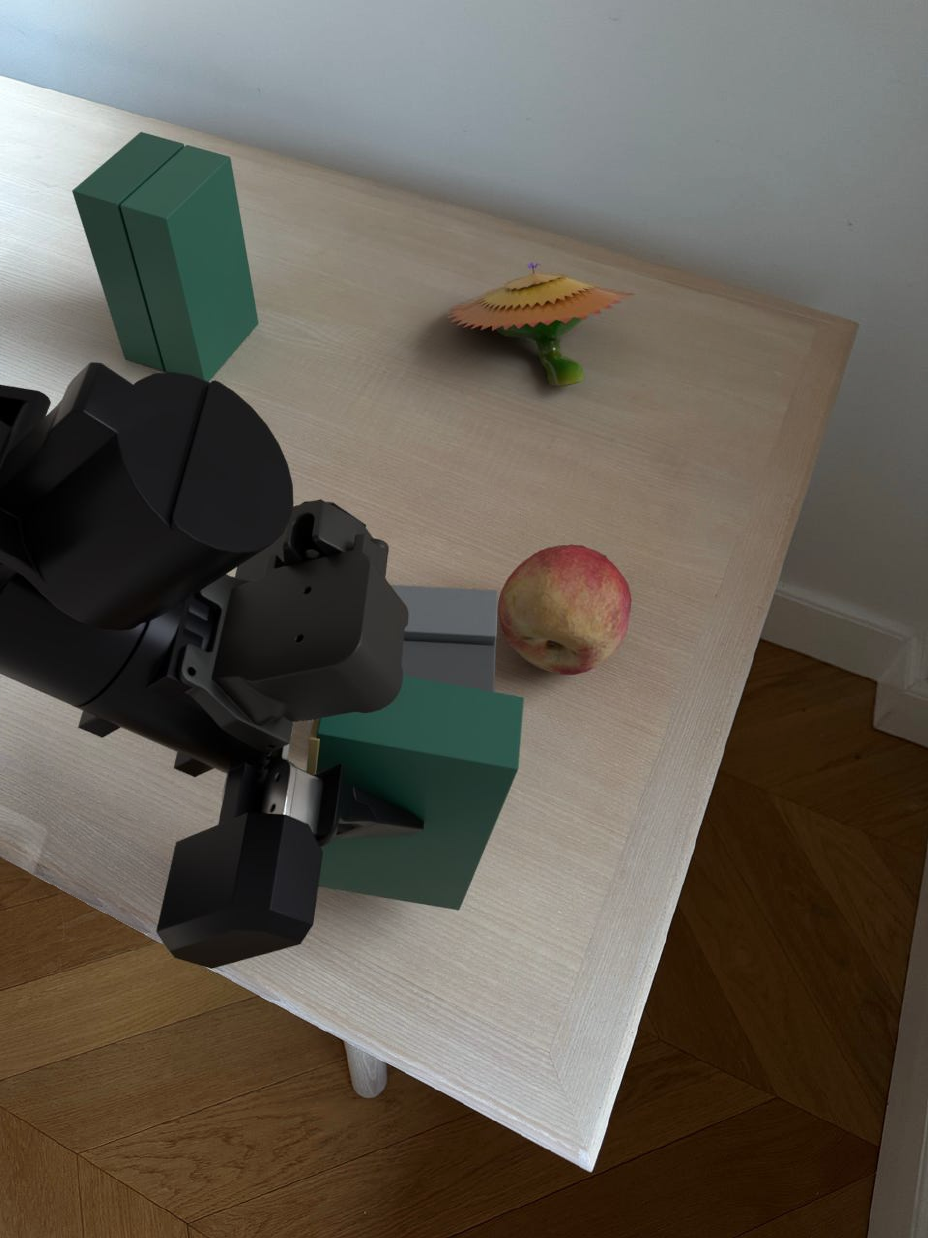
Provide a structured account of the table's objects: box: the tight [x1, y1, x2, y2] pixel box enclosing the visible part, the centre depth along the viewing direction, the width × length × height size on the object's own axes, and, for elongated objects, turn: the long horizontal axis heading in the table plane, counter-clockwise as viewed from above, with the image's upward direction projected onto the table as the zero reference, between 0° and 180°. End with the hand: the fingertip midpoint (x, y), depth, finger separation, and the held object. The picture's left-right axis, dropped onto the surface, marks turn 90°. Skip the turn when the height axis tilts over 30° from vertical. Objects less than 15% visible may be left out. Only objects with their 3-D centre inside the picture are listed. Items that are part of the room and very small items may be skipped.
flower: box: [445, 262, 635, 387], centre depth 78 cm, size 15×13×8 cm
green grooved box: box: [71, 131, 259, 382], centre depth 73 cm, size 8×7×14 cm
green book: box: [305, 675, 525, 911], centre depth 46 cm, size 8×4×14 cm, turn 83°
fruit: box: [497, 543, 632, 676], centre depth 60 cm, size 8×8×8 cm
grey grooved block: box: [390, 584, 499, 692], centre depth 56 cm, size 8×6×10 cm
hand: (420, 786), depth 45 cm, fingers closed on green book, 4 cm apart
